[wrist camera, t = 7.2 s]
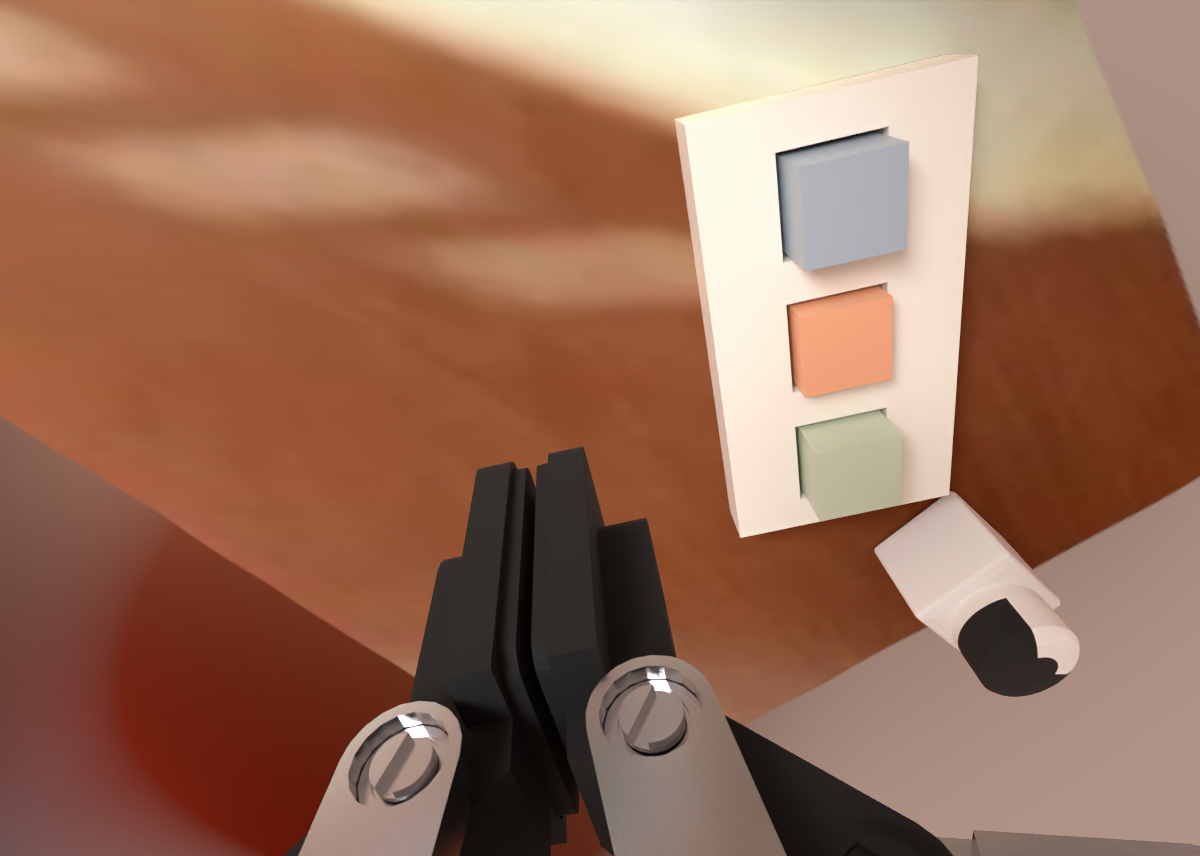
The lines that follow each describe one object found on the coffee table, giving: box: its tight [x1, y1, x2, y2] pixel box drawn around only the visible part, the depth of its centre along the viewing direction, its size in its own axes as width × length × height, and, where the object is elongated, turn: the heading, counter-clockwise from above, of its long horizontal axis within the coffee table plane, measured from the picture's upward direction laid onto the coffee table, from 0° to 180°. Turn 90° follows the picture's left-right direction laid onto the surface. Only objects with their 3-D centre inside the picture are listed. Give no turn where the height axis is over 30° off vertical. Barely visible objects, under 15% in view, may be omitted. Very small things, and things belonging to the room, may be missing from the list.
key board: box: [675, 54, 979, 538], centre depth 39 cm, size 26×14×3 cm, turn 12°
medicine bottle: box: [874, 491, 1080, 697], centre depth 45 cm, size 7×7×12 cm
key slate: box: [775, 132, 909, 272], centre depth 33 cm, size 5×5×4 cm
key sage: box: [795, 409, 903, 521], centre depth 41 cm, size 5×5×4 cm
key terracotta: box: [786, 285, 893, 398], centre depth 39 cm, size 5×5×4 cm
